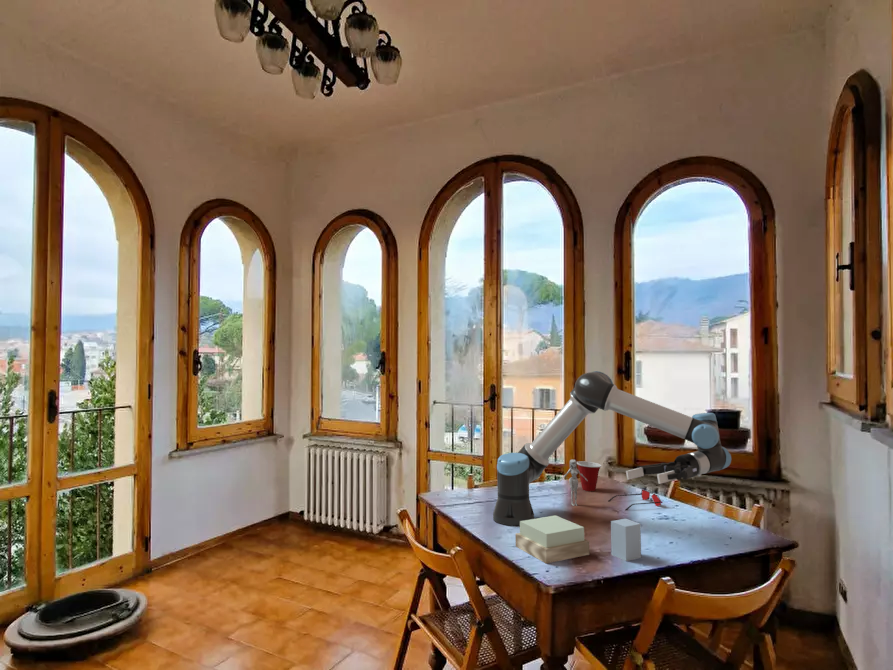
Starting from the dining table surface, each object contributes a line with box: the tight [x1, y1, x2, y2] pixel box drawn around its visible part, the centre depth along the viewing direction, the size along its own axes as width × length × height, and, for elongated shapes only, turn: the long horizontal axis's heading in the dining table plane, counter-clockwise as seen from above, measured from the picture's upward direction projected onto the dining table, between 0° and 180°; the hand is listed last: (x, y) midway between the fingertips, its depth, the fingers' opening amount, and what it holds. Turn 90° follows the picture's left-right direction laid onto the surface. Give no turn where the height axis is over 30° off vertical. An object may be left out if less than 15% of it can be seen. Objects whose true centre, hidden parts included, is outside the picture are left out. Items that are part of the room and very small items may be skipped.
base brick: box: [515, 532, 590, 564], centre depth 168 cm, size 16×16×4 cm
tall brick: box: [610, 518, 642, 562], centre depth 163 cm, size 6×6×10 cm
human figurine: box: [559, 459, 588, 507], centre depth 220 cm, size 12×4×18 cm, turn 97°
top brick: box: [519, 515, 585, 548], centre depth 168 cm, size 14×14×4 cm
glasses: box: [607, 489, 663, 511], centre depth 219 cm, size 14×16×5 cm
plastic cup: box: [576, 460, 602, 492], centre depth 243 cm, size 11×11×12 cm
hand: (642, 477), depth 170 cm, fingers open, 13 cm apart
